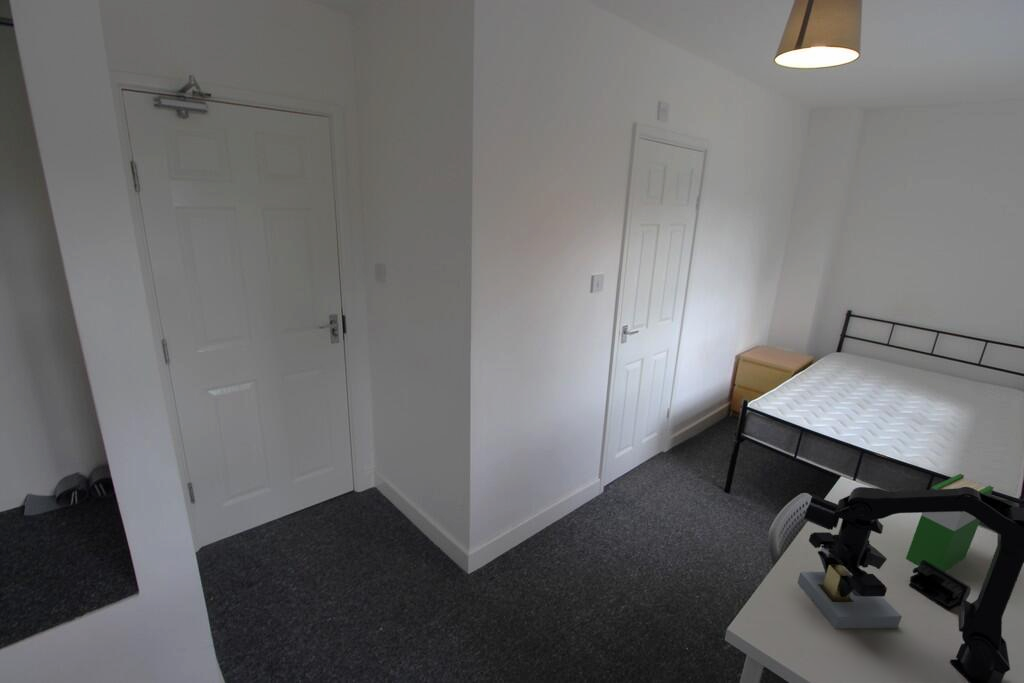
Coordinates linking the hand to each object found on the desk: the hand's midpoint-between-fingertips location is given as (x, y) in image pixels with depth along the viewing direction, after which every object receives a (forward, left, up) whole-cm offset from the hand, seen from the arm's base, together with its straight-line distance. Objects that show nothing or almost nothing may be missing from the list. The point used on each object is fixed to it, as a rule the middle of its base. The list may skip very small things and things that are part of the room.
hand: (836, 589), depth 118 cm
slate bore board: (0, -3, -4) cm, 6 cm away
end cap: (+3, -31, -5) cm, 32 cm away
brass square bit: (0, 0, -3) cm, 3 cm away
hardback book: (+16, -44, -5) cm, 47 cm away
